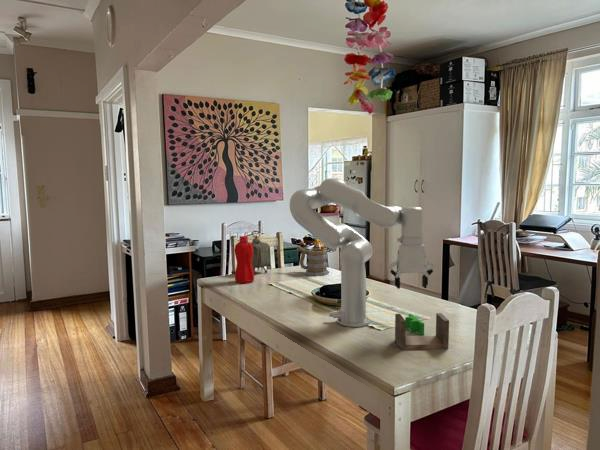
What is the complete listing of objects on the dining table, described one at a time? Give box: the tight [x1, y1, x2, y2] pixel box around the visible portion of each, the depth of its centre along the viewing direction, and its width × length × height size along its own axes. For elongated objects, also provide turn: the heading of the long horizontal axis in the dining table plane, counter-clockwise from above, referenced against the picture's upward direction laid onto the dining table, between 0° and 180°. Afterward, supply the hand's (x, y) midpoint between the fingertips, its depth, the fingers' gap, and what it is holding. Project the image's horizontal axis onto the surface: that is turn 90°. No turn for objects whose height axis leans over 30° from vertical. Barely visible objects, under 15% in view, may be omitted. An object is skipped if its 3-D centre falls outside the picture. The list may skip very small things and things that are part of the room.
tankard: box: [296, 246, 330, 277], centre depth 262 cm, size 20×13×15 cm, turn 58°
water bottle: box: [233, 235, 255, 284], centre depth 240 cm, size 9×11×25 cm
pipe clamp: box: [404, 313, 425, 336], centre depth 164 cm, size 11×4×5 cm, turn 9°
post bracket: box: [394, 312, 450, 350], centre depth 150 cm, size 16×8×10 cm, turn 91°
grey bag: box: [250, 230, 271, 274], centre depth 264 cm, size 14×9×25 cm, turn 49°
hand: (411, 287), depth 163 cm, fingers open, 9 cm apart
